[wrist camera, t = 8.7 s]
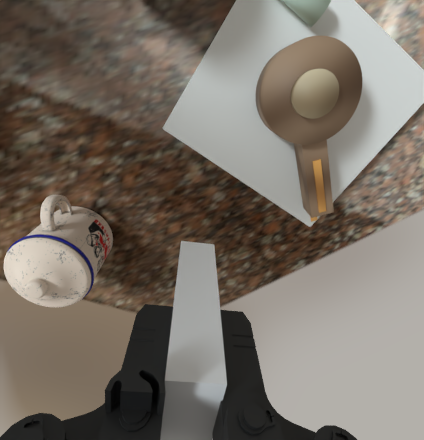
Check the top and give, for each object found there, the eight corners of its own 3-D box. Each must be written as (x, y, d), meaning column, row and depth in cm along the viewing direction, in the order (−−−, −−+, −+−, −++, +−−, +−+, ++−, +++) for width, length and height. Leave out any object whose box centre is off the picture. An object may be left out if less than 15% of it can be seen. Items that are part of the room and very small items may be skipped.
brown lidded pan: (247, 58, 27) (255, 52, 23) (338, 29, 27) (366, 17, 22) (277, 214, 35) (288, 233, 30) (350, 195, 34) (372, 212, 29)
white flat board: (163, 126, 32) (158, 131, 28) (275, -67, 25) (287, -92, 22) (306, 222, 38) (317, 236, 34) (428, 85, 31) (458, 85, 27)
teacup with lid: (118, 264, 40) (87, 327, 29) (53, 262, 39) (-3, 325, 29) (110, 183, 35) (69, 224, 24) (34, 179, 34) (-41, 220, 24)
